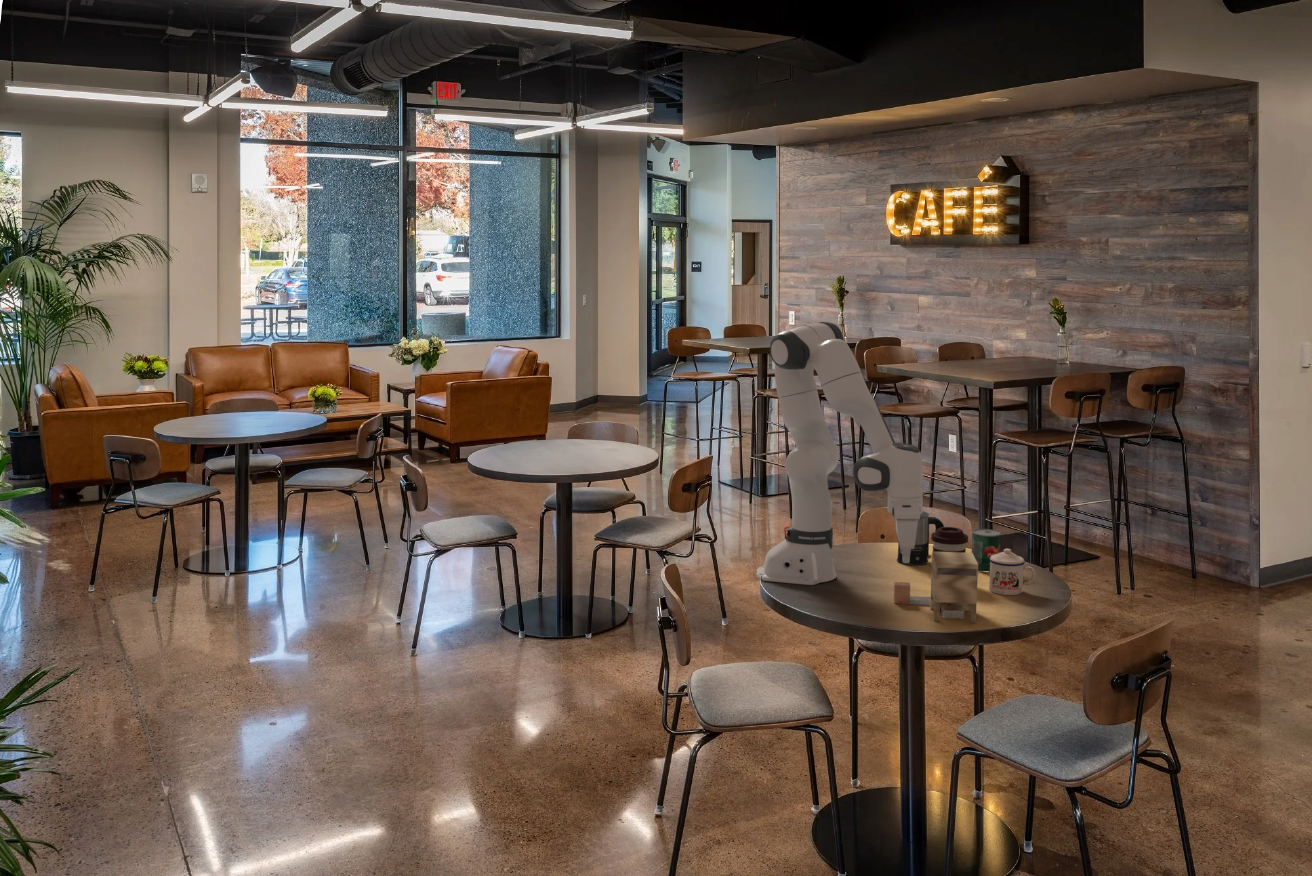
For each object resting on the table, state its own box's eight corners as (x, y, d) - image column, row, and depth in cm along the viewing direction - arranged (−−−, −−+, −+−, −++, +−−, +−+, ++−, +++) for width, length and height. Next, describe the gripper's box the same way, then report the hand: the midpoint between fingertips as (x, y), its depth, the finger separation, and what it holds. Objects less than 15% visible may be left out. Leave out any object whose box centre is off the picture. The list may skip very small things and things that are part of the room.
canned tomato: (995, 574, 315) (997, 536, 314) (967, 570, 319) (969, 533, 317) (1001, 567, 322) (1003, 530, 320) (974, 564, 326) (976, 527, 324)
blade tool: (894, 603, 288) (894, 585, 287) (893, 599, 291) (893, 581, 291) (965, 607, 285) (965, 588, 284) (963, 602, 289) (964, 584, 288)
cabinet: (934, 621, 273) (936, 563, 271) (930, 607, 284) (932, 551, 282) (975, 623, 272) (978, 564, 269) (970, 609, 283) (972, 552, 281)
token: (943, 619, 276) (943, 610, 276) (941, 613, 281) (941, 604, 281) (963, 620, 276) (964, 610, 275) (961, 614, 280) (961, 604, 280)
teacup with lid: (987, 594, 296) (989, 552, 294) (988, 585, 305) (990, 544, 303) (1035, 598, 292) (1037, 555, 291) (1034, 588, 301) (1036, 547, 299)
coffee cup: (967, 587, 302) (969, 534, 300) (930, 585, 304) (932, 532, 302) (964, 577, 312) (967, 526, 309) (928, 575, 314) (930, 524, 311)
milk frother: (908, 567, 323) (910, 518, 320) (877, 554, 337) (878, 507, 335) (947, 562, 328) (949, 513, 326) (915, 549, 342) (917, 503, 340)
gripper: (890, 497, 296) (890, 548, 298) (894, 514, 276) (894, 567, 278) (914, 497, 295) (914, 548, 297) (920, 514, 275) (920, 568, 277)
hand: (904, 557), depth 287 cm, fingers open, 8 cm apart
